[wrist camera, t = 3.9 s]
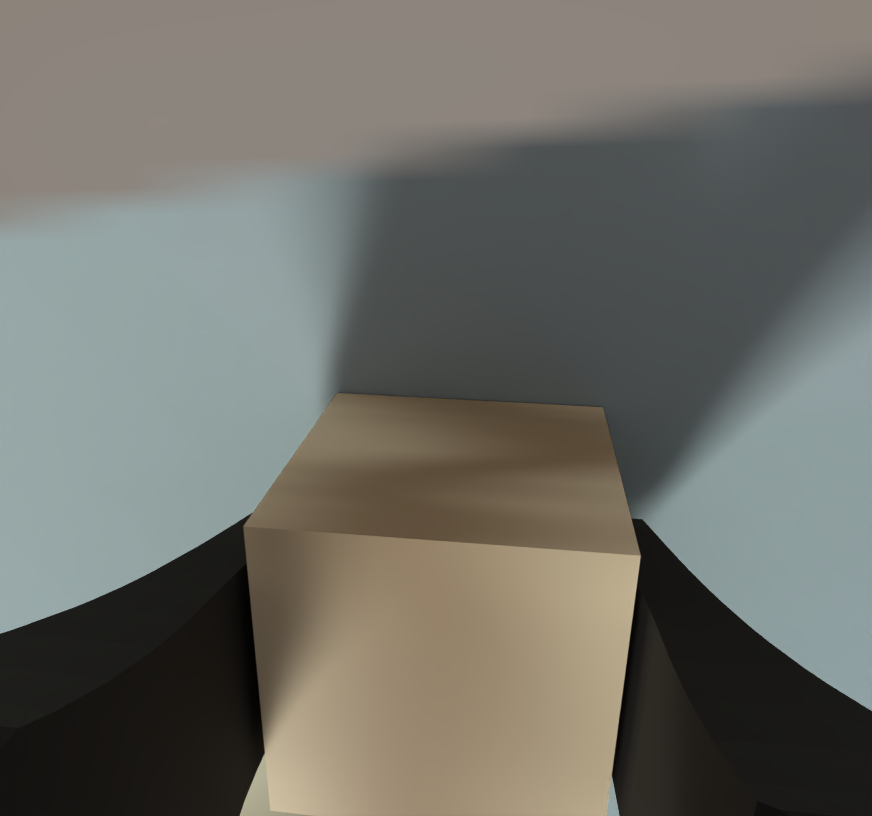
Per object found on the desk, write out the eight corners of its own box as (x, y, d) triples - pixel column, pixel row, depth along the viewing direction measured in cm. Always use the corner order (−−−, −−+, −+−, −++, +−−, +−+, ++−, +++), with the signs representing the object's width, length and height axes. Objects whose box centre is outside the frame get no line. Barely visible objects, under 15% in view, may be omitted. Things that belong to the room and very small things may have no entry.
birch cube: (603, 407, 12) (639, 555, 8) (580, 630, 14) (601, 849, 10) (337, 392, 13) (243, 526, 9) (345, 610, 14) (269, 811, 10)
